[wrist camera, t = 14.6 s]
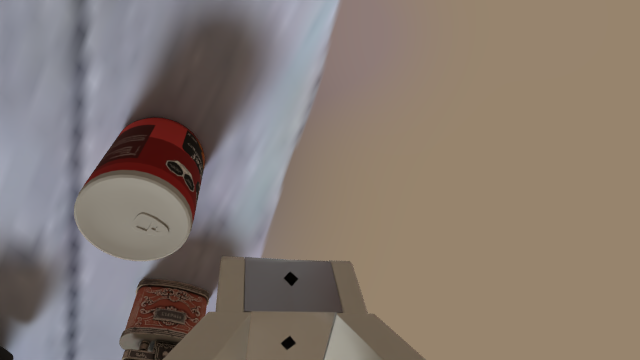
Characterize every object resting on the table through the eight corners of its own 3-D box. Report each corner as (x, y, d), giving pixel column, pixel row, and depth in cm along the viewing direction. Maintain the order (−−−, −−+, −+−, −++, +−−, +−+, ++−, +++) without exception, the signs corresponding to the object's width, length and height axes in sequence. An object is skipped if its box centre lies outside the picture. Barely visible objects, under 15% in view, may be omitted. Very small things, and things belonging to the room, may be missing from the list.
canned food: (197, 195, 41) (181, 269, 32) (112, 177, 39) (68, 252, 30) (214, 127, 38) (201, 189, 29) (122, 104, 36) (76, 162, 26)
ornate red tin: (212, 288, 48) (204, 363, 39) (204, 308, 49) (194, 385, 41) (141, 274, 45) (115, 351, 37) (134, 295, 47) (108, 375, 38)
